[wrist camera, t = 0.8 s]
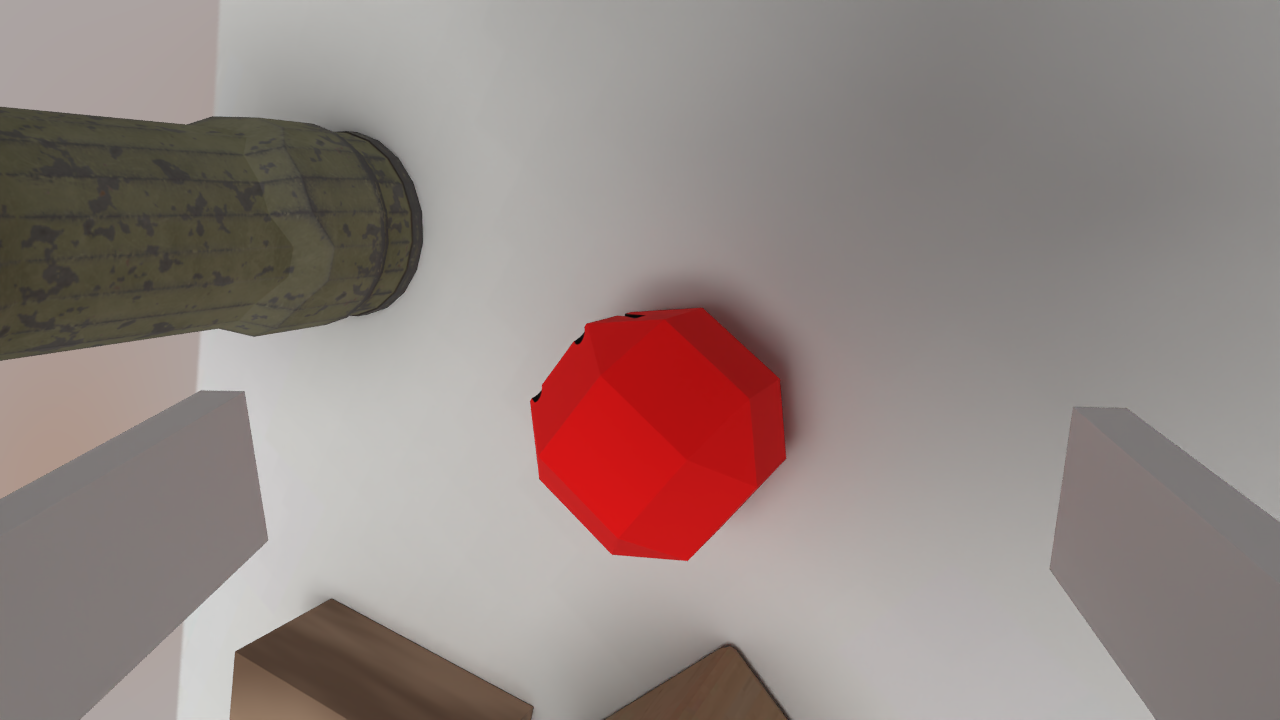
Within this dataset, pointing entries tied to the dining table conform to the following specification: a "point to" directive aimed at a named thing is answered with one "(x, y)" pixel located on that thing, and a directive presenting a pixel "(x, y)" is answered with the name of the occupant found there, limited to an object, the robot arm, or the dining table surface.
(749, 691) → the wooden block
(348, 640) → the walnut pedestal block
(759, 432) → the ball
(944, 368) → the dining table surface
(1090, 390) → the dining table surface
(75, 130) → the thermos
